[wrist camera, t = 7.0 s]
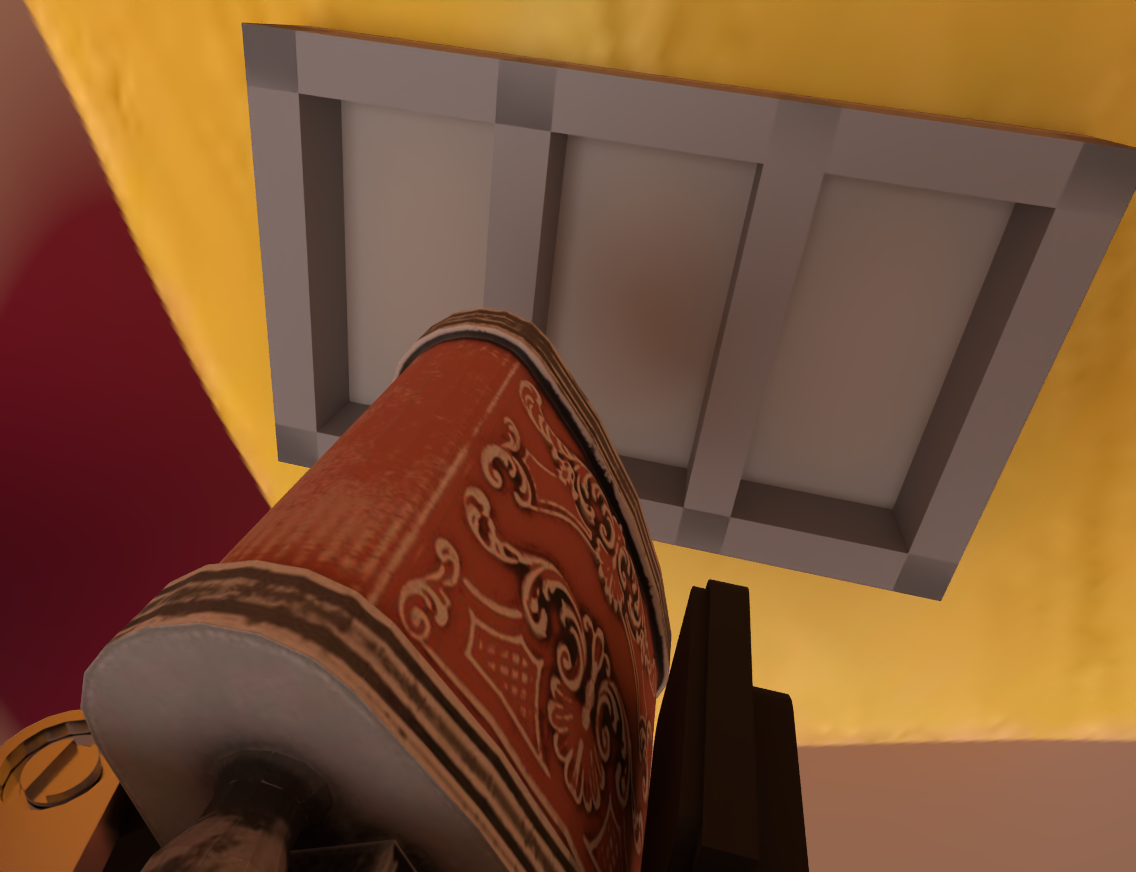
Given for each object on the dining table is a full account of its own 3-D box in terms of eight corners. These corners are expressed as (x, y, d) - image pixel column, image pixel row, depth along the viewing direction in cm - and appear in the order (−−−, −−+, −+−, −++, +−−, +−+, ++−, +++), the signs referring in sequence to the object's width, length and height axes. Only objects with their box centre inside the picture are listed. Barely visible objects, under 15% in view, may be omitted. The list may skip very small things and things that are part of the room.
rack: (1088, 135, 20) (1153, 152, 17) (916, 537, 26) (940, 601, 23) (307, 25, 22) (241, 22, 19) (325, 417, 29) (278, 461, 26)
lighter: (367, 343, 12) (-459, 1041, 4) (551, 278, 11) (27, 1031, 3) (547, 693, 15) (335, 1542, 7) (706, 667, 14) (706, 1630, 6)
